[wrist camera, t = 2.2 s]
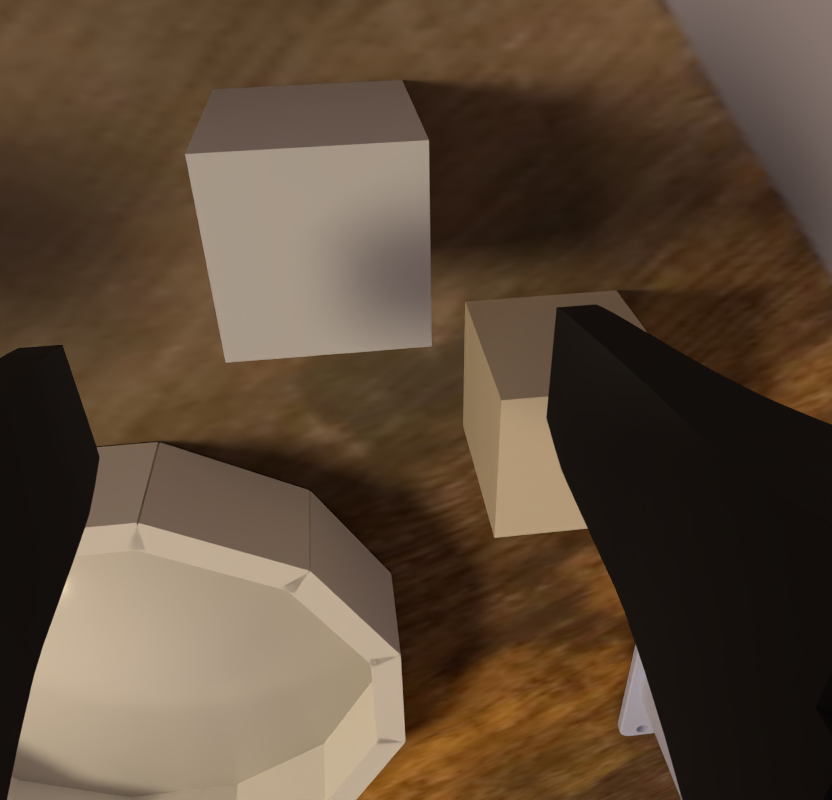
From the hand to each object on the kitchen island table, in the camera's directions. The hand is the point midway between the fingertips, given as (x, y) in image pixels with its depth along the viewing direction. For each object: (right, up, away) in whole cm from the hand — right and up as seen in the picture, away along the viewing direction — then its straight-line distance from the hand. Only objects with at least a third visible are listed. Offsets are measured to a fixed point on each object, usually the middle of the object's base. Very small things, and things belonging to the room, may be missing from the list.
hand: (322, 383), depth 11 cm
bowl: (-9, -9, +17) cm, 21 cm away
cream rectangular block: (+5, +1, +12) cm, 13 cm away
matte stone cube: (-1, +5, +8) cm, 10 cm away
